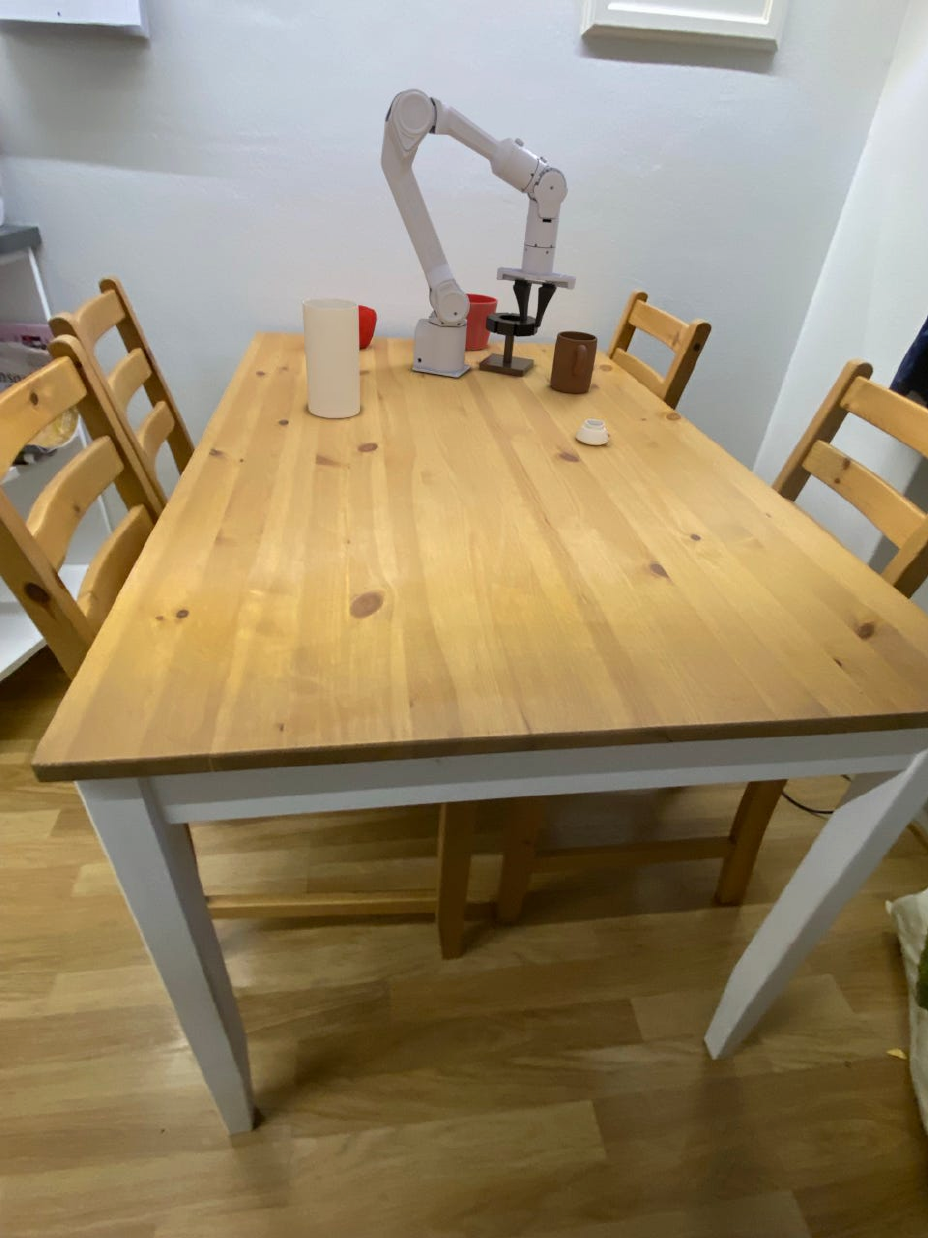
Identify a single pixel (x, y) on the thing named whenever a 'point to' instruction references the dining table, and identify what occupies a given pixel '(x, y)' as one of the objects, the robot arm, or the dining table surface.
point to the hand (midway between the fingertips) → (530, 325)
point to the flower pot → (478, 320)
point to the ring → (510, 324)
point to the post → (507, 361)
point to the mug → (573, 361)
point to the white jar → (593, 432)
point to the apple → (366, 325)
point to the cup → (332, 356)
